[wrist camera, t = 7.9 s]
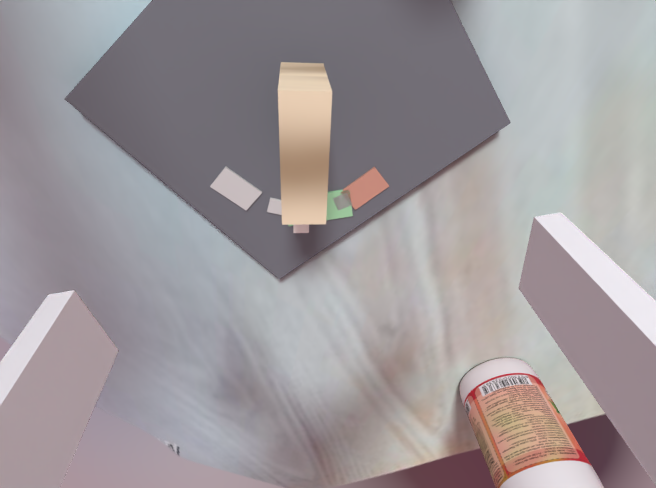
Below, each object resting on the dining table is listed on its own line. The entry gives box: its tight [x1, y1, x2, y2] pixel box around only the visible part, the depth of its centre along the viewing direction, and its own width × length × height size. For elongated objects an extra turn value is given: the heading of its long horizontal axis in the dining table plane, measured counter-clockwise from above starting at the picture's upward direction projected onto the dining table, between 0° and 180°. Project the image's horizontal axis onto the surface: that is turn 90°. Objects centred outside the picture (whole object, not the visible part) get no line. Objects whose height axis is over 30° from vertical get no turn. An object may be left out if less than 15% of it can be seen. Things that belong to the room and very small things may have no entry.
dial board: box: [65, 0, 510, 279], centre depth 27 cm, size 20×22×2 cm
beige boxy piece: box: [278, 62, 332, 233], centre depth 24 cm, size 12×3×8 cm, turn 178°
